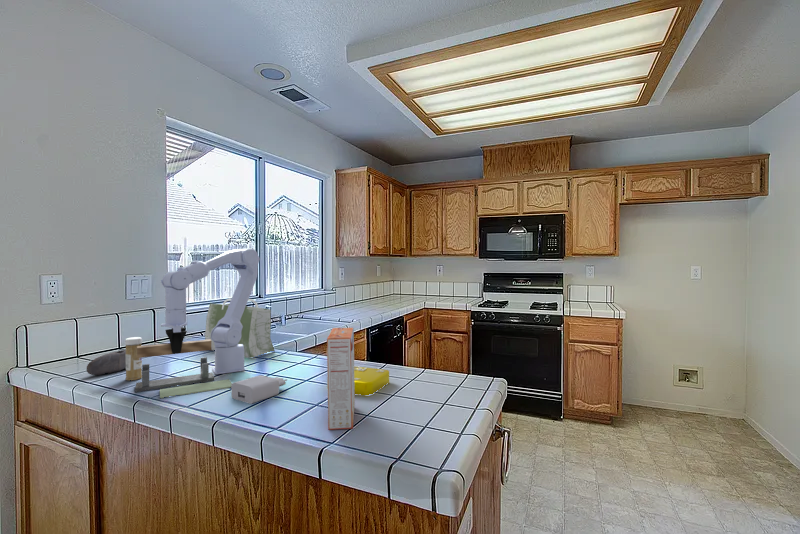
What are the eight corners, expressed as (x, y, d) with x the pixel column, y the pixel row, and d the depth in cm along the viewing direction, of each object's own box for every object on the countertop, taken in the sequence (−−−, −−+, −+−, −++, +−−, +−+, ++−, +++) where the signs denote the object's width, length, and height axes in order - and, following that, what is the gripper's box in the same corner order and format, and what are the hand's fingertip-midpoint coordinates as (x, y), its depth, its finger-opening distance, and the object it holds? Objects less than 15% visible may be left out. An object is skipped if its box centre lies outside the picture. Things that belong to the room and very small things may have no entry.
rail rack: (211, 375, 130) (211, 356, 130) (214, 380, 124) (214, 360, 124) (136, 385, 118) (136, 364, 118) (135, 392, 112) (135, 370, 112)
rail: (210, 348, 128) (210, 339, 127) (211, 349, 125) (211, 340, 125) (137, 356, 117) (137, 346, 117) (137, 358, 114) (137, 348, 114)
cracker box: (331, 407, 100) (331, 327, 100) (355, 407, 100) (355, 326, 100) (325, 430, 86) (325, 337, 86) (353, 429, 86) (352, 336, 86)
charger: (295, 389, 115) (252, 405, 102) (275, 384, 120) (231, 398, 107) (295, 374, 115) (252, 387, 102) (274, 369, 120) (231, 381, 107)
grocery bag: (277, 351, 165) (277, 298, 165) (250, 358, 154) (249, 300, 153) (231, 344, 182) (231, 295, 182) (203, 349, 170) (202, 297, 170)
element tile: (324, 392, 113) (324, 375, 113) (350, 378, 127) (350, 363, 127) (369, 398, 108) (369, 381, 108) (391, 383, 121) (391, 368, 121)
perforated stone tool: (90, 379, 126) (90, 357, 126) (81, 377, 128) (81, 356, 128) (138, 368, 139) (138, 348, 139) (129, 366, 142) (129, 347, 142)
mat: (229, 380, 124) (229, 379, 124) (233, 387, 117) (233, 385, 117) (159, 390, 113) (159, 389, 113) (159, 398, 107) (159, 397, 107)
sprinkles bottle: (142, 379, 125) (141, 338, 125) (124, 381, 123) (124, 339, 123) (142, 376, 129) (142, 336, 129) (125, 378, 126) (125, 337, 126)
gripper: (160, 307, 125) (160, 349, 125) (161, 312, 113) (161, 358, 113) (185, 306, 129) (185, 346, 129) (188, 310, 116) (188, 355, 116)
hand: (176, 352), depth 121 cm, fingers closed on rail, 3 cm apart
